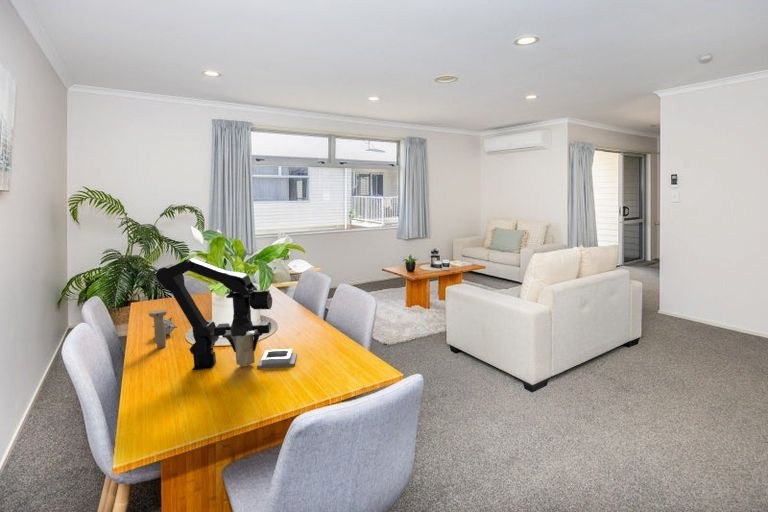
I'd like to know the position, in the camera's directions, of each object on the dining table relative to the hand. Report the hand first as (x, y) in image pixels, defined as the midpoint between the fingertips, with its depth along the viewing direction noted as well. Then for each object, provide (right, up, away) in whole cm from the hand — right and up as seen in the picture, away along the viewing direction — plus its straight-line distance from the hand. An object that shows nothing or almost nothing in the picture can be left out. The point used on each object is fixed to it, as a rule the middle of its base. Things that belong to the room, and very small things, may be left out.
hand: (244, 351), depth 152 cm
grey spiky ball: (-47, -1, +36) cm, 59 cm away
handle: (-41, -3, +21) cm, 47 cm away
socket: (+11, -5, +4) cm, 12 cm away
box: (0, -5, +1) cm, 5 cm away
